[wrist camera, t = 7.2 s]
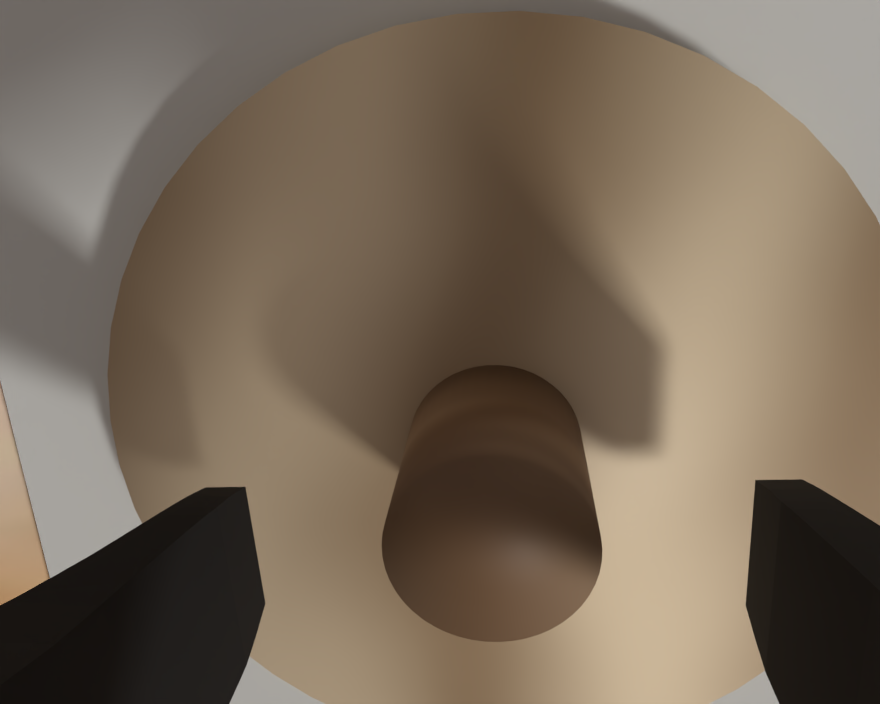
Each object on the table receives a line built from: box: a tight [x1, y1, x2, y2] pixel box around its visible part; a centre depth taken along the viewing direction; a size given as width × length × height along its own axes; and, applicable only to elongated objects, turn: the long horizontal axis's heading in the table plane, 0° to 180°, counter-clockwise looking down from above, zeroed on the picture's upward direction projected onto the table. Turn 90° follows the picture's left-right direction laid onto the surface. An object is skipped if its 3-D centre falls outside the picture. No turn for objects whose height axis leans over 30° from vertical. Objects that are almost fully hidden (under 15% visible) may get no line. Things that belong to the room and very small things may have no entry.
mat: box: [0, 0, 880, 704], centre depth 14 cm, size 18×16×1 cm
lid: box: [107, 11, 880, 704], centre depth 12 cm, size 13×13×4 cm
